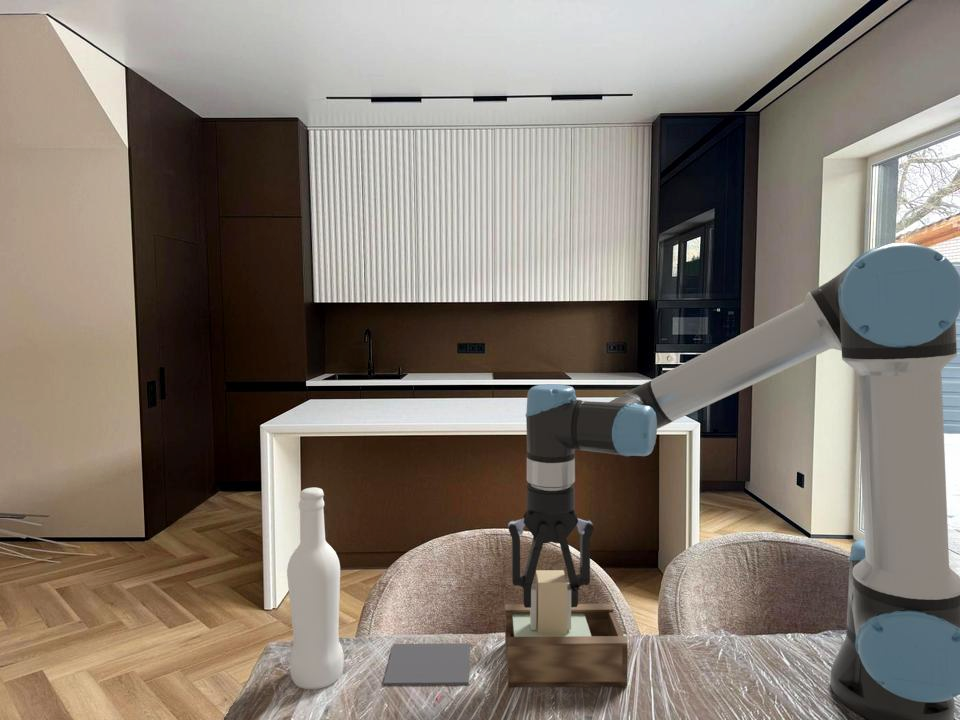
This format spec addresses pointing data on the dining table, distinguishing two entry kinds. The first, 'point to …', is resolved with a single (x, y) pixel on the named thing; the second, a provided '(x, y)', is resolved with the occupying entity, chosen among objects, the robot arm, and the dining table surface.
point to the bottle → (314, 599)
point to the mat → (429, 664)
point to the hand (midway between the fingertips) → (550, 625)
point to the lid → (550, 610)
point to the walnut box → (568, 653)
